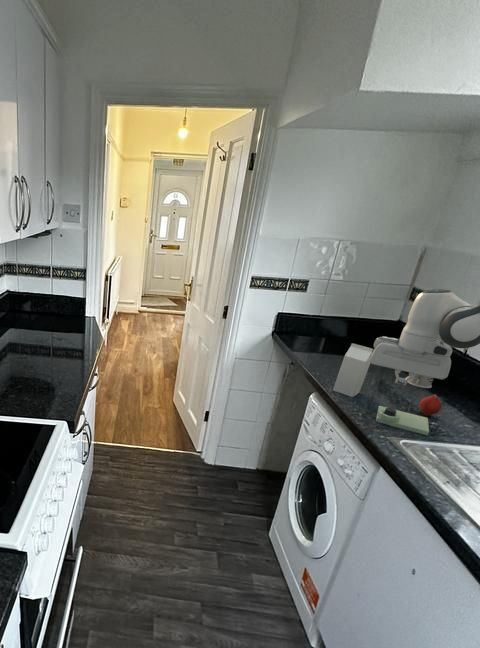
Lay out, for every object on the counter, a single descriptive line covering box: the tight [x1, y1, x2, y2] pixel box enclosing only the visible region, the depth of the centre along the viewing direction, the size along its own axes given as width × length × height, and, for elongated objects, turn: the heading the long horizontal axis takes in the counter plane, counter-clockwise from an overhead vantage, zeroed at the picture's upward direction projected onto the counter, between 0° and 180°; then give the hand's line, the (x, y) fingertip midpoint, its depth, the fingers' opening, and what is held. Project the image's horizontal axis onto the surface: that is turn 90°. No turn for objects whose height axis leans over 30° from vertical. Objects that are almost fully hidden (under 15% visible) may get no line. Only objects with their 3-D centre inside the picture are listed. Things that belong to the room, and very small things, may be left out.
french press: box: [407, 335, 441, 389], centre depth 164 cm, size 10×12×25 cm
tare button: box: [384, 407, 397, 416], centre depth 136 cm, size 3×3×2 cm
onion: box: [419, 394, 442, 417], centre depth 142 cm, size 6×6×8 cm
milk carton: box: [332, 343, 374, 398], centre depth 153 cm, size 7×7×19 cm
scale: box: [375, 405, 430, 436], centre depth 137 cm, size 14×12×3 cm
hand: (400, 383), depth 132 cm, fingers closed
